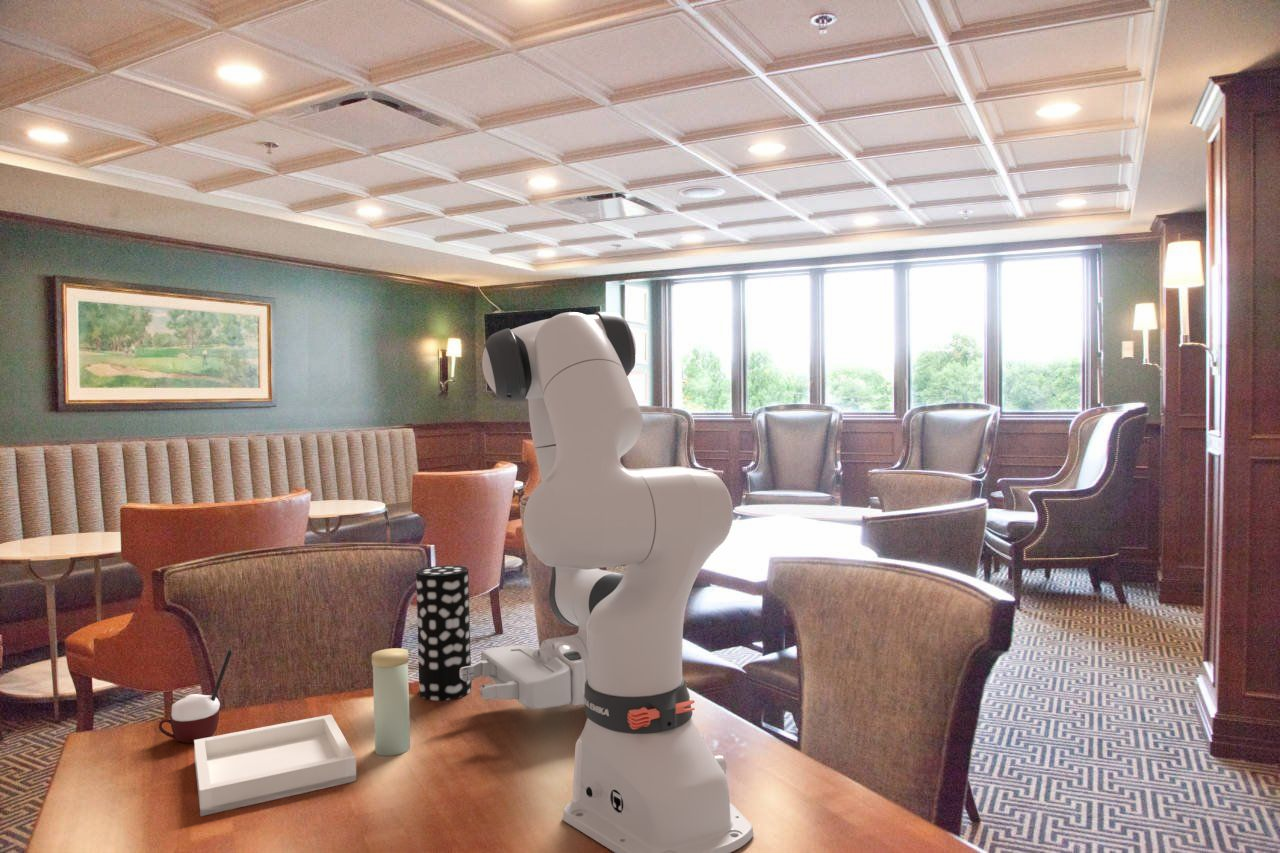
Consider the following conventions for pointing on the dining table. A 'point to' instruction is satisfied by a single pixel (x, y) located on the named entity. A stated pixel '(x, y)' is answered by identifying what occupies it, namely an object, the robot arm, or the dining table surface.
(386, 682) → the tea tin
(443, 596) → the spotted tube
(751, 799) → the dining table surface
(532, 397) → the robot arm
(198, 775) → the dish
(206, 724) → the cocoa
